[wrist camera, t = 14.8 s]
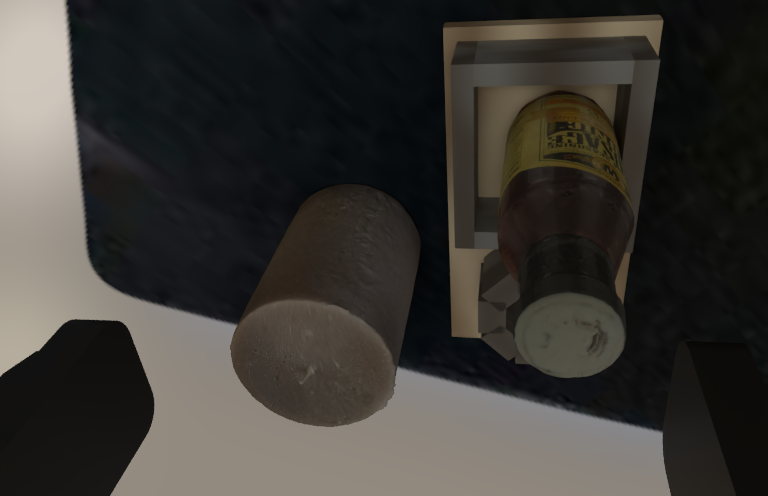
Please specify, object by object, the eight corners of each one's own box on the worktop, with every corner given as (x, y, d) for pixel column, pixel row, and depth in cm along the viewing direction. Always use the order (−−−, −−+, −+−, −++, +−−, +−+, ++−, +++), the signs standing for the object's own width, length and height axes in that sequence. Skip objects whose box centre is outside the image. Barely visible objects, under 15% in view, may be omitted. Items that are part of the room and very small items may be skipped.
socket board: (659, 14, 37) (680, 43, 32) (615, 334, 49) (625, 388, 45) (445, 22, 39) (434, 50, 35) (453, 326, 52) (446, 377, 47)
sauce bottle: (634, 126, 40) (716, 345, 23) (560, 197, 43) (585, 433, 26) (551, 59, 38) (576, 240, 22) (481, 137, 42) (456, 345, 25)
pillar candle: (283, 271, 52) (211, 417, 39) (306, 163, 46) (230, 292, 34) (403, 308, 52) (369, 465, 39) (440, 204, 46) (414, 348, 34)
